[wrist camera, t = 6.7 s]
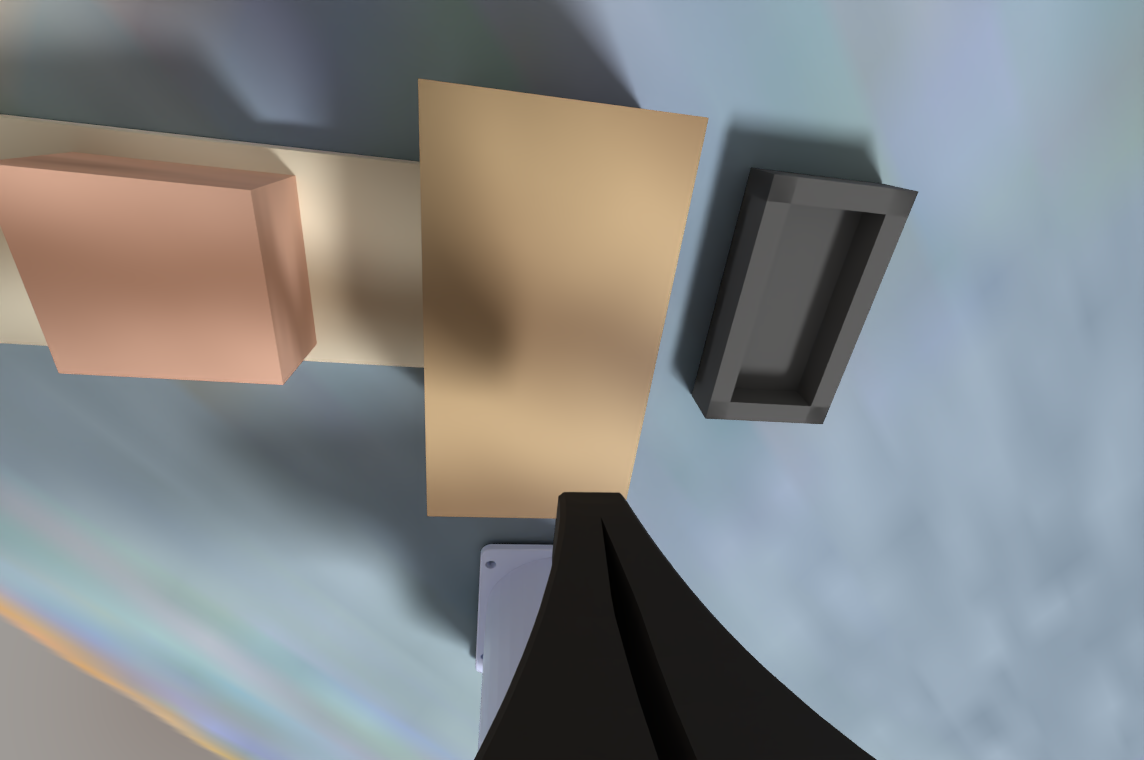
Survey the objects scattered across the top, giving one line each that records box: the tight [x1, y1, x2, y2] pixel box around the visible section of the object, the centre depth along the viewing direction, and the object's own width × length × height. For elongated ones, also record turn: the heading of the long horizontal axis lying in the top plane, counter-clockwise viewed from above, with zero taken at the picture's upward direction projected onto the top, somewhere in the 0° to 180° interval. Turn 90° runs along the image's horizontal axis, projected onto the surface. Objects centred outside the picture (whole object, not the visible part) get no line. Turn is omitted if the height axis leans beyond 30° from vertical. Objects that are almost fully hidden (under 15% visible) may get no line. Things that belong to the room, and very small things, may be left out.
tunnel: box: [418, 78, 708, 519], centre depth 16 cm, size 11×6×6 cm, turn 173°
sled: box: [0, 114, 424, 385], centre depth 14 cm, size 7×18×7 cm, turn 83°
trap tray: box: [692, 168, 918, 424], centre depth 19 cm, size 9×5×2 cm, turn 173°
